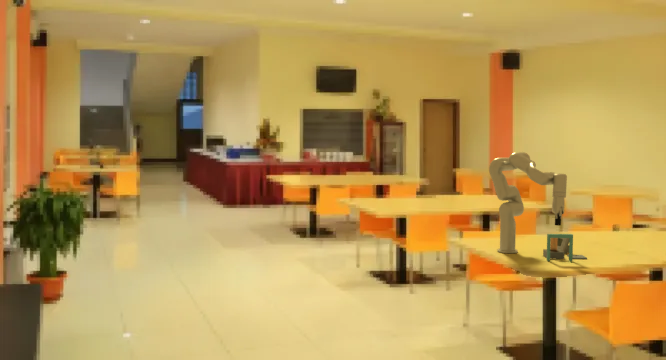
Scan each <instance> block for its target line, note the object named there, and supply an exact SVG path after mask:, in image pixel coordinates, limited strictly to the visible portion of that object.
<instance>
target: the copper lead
mask: <svg viewBox="0 0 666 360" xmlns="http://www.w3.org/2000/svg"><path fill="white" fill-rule="evenodd" d="M557 241H558V238H551V241H550V252H557Z"/></svg>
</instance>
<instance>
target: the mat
mask: <svg viewBox="0 0 666 360" xmlns="http://www.w3.org/2000/svg"><path fill="white" fill-rule="evenodd" d="M566 257H568V258H569V254H566ZM572 260H588V257H586V256H585V255H583V254H573V258H572Z"/></svg>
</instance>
